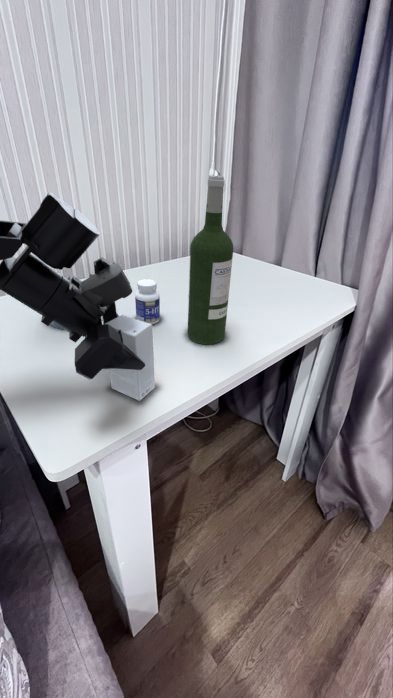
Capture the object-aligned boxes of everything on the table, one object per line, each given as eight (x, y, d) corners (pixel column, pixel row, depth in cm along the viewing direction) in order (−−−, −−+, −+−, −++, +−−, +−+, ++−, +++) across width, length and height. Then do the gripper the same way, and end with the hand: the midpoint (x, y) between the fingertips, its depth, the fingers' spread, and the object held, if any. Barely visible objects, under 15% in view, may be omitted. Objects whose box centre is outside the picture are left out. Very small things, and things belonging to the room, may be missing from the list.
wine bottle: (220, 348, 66) (236, 180, 50) (182, 341, 68) (186, 176, 51) (227, 329, 73) (243, 176, 56) (193, 324, 74) (199, 173, 58)
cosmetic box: (155, 387, 55) (153, 324, 48) (139, 402, 52) (134, 336, 45) (127, 375, 57) (122, 313, 51) (110, 388, 54) (102, 324, 48)
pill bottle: (147, 327, 72) (145, 289, 67) (131, 319, 75) (129, 282, 70) (164, 319, 75) (164, 282, 70) (149, 312, 78) (147, 276, 73)
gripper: (91, 272, 33) (192, 350, 42) (87, 229, 48) (162, 293, 57) (25, 347, 36) (134, 406, 44) (41, 283, 51) (120, 337, 59)
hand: (139, 353), depth 51 cm, fingers closed on cosmetic box, 7 cm apart
